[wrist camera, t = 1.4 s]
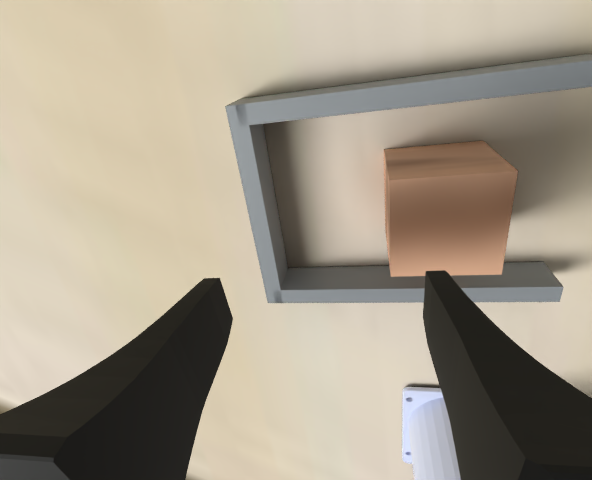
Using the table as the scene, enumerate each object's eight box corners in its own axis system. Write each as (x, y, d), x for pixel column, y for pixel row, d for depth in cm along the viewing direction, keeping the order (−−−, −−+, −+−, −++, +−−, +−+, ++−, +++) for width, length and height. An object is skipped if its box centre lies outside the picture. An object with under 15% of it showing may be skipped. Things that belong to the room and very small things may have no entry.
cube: (473, 226, 21) (501, 274, 17) (385, 230, 22) (390, 276, 18) (482, 140, 19) (518, 170, 14) (383, 148, 20) (389, 180, 15)
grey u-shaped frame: (540, 275, 22) (559, 301, 20) (276, 280, 25) (267, 303, 23) (588, 53, 16) (623, 56, 14) (240, 98, 20) (225, 106, 17)
